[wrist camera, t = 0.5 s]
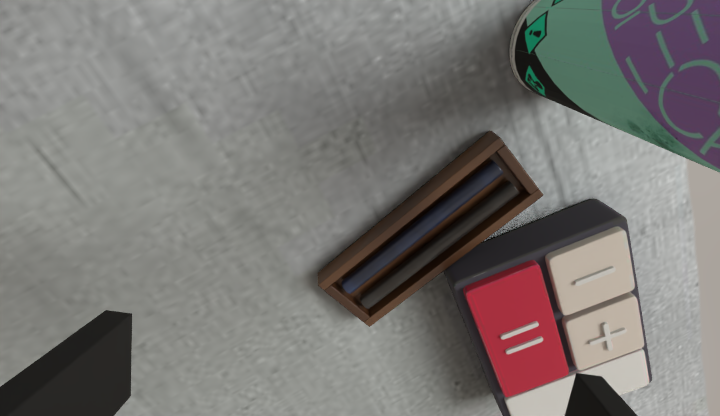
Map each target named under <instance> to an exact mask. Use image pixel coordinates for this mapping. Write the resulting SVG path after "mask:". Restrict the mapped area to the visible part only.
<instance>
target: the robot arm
mask: <svg viewBox="0 0 720 416" xmlns="http://www.w3.org/2000/svg"><path fill="white" fill-rule="evenodd" d="M131 343H132V314H130V313H123V312H115V311H108V310H106V311H104V312H103V313H102V314H100V315H99V316H97V317H96V318H95V319H93V320H92V321H91V322H89V323H88V324H86V325H85V326H84V327H82V328H81V329H79V330H78V331H77V332H75V333H74V334H73V335H71V336H70V337H68V338H67V339H66V340H64V341H63V342H62V343H60V344H59V345H57V346H56V347H55V348H53V349H52V350H51V351H49V352H48V353H46V354H45V355H44V356H42V357H41V358H40V359H38V360H37V361H35V362H34V363H33V364H31V365H30V366H29V367H27V368H26V369H24V370H23V371H22V372H20V373H19V374H18V375H16V376H15V377H13V378H12V379H11V380H9V381H8V382H7V383H5V384H4V385H2V386H1V387H0V416H114V415H115V414H116V412H117V411H118V410H119V409H120V408H121V407H122V405H123V404H124V403H125V402H126V401H127V400H128V399H129V397H130V396H131ZM565 416H637V415H636V414H635V413H634V411H633V410H632V409H631V408H630V407H629V406H628V405H627V404H626V403H625V401H624V400H623V399H622V398H621V397H620V396H619V395H618V394H617V392H616V391H615V390H614V389H613V388H612V387H611V386H610V385H609V384H608V382H607V381H606V380H605V379H604V378H603V377H602V376H596V375H588V374H581V373H576V375H575V379H574V383H573V387H572V390H571V394H570V398H569V401H568V405H567V409H566V412H565Z"/></svg>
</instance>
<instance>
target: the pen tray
mask: <svg viewBox="0 0 720 416" xmlns="http://www.w3.org/2000/svg"><path fill="white" fill-rule="evenodd" d="M542 196H543V194H542V193H541V191H540V190H539V189H538V187H537V186H536V185H535V183H534V182H533V181H532V179H531V178H530V177H529V175H528V174H527V173H526V171H525V170H524V169H523V167H522V166H521V165H520V163H519V162H518V161H517V159H516V158H515V157H514V155H513V154H512V153H511V151H510V150H509V149H508V147H507V146H506V145H505V144H504V142H503V141H502V139H501V138H500V137H499V136H497V135H496V134H495V133H493V132H492V131H489V132H488V133H486V134H485V135H484V136H483V137H482V138H480V139H479V140H478V141H477V142H476V143H474V144H473V145H472V146H471V147H470V148H468V149H467V150H466V151H465V152H463V153H462V154H461V155H460V156H459V157H457V158H456V159H455V160H454V161H453V162H451V163H450V164H449V165H448V166H446V167H445V168H444V169H443V170H442V171H440V172H439V173H438V174H437V175H436V176H434V177H433V178H432V179H431V180H430V181H428V182H427V183H426V184H425V185H423V186H422V187H421V188H420V189H419V190H417V191H416V192H415V193H414V194H413V195H411V196H410V197H409V198H408V199H407V200H405V201H404V202H403V203H402V204H400V205H399V206H398V207H397V208H396V209H394V210H393V211H392V212H391V213H390V214H388V215H387V216H386V217H385V218H384V219H382V220H381V221H380V222H379V223H377V224H376V225H375V226H374V227H373V228H371V229H370V230H369V231H368V232H367V233H365V234H364V235H363V236H362V237H361V238H359V239H358V240H357V241H356V242H354V243H353V244H352V245H351V246H350V247H348V248H347V249H346V250H345V251H344V252H342V253H341V254H340V255H339V256H338V257H336V258H335V259H334V260H333V261H331V262H330V263H329V264H328V265H327V266H325V267H324V268H323V269H322V270H321V271H319V272H318V286H319V287H320V288H322V289H323V290H324V291H325V292H327V293H328V294H329V295H330V296H332V297H333V298H334V299H335V300H337V301H338V302H339V303H340V304H342V305H343V306H344V307H345V308H347V309H348V310H349V311H350V312H352V313H353V314H354V315H355V316H357V317H358V318H359V319H360V320H362V321H363V322H364V323H365V324H367V325H368V326H369V327H370V326H371V325H372V324H374V323H375V322H376V321H378V320H379V319H380V318H382V317H383V316H384V315H386V314H387V313H388V312H390V311H391V310H392V309H394V308H395V307H396V306H398V305H399V304H400V303H402V302H403V301H404V300H406V299H407V298H408V297H410V296H411V295H412V294H413V293H415V292H416V291H417V290H419V289H420V288H421V287H423V286H424V285H425V284H427V283H428V282H429V281H431V280H432V279H433V278H435V277H436V276H437V275H439V274H440V273H441V272H443V271H444V270H445V269H447V268H448V267H449V266H451V265H452V264H453V263H455V262H456V261H457V260H459V259H460V258H461V257H462V256H464V255H465V254H466V253H468V252H469V251H470V250H472V249H473V248H474V247H476V246H477V245H478V244H480V243H481V242H482V241H484V240H485V239H486V238H488V237H489V236H490V235H492V234H493V233H494V232H496V231H497V230H498V229H500V228H501V227H502V226H504V225H505V224H506V223H508V222H509V221H510V220H511V219H513V218H514V217H515V216H517V215H518V214H519V213H521V212H522V211H523V210H525V209H526V208H527V207H529V206H530V205H531V204H533V203H534V202H535V201H537V200H538V199H539V198H541V197H542Z"/></svg>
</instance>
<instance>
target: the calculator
mask: <svg viewBox="0 0 720 416" xmlns="http://www.w3.org/2000/svg"><path fill="white" fill-rule="evenodd" d="M444 273H445V275H446V278H447V280H448V283H449V285H450V288H451V290H452V293H453V295H454V298H455V300H456V303H457V305H458V308H459V310H460V313H461V315H462V318H463V320H464V323H465V325H466V328H467V330H468V333H469V335H470V338H471V340H472V343H473V345H474V347H475V350H476V352H477V355H478V357H479V360H480V362H481V365H482V368H483V371H484V373H485V376H486V378H487V381H488V383H489V386H490V388H491V391H492V393H493V395H494V398H495V400H496V402H497V404H498V406H499V408H500V411H501V413H502V415H503V416H564V415H565V412H566V409H567V405H568V401H569V398H570V394H571V390H572V387H573V383H574V379H575V375H576V373H581V374H588V375H596V376H602V377H603V378H604V379H605V380H606V381H607V382H608V384H609V385H610V386H611V387H612V388H613V389H614V390H615V391H616V392H617V394H618V395H622V394H625V393H628V392H630V391H633V390H636V389H639V388H641V387H644V386H646V385H648V384H649V383H650V382H651V381H652V374H651V368H650V362H649V356H648V349H647V343H646V337H645V331H644V324H643V318H642V312H641V306H640V299H639V293H638V287H637V281H636V274H635V268H634V262H633V255H632V249H631V243H630V237H629V230H628V224H627V220H626V218H625V217H624V216H622V215H621V214H619V213H618V212H616V211H615V210H613V209H612V208H610V207H609V206H607V205H605V204H604V203H602V202H601V201H599V200H597V199H590V200H587V201H585V202H582V203H580V204H577V205H575V206H572V207H570V208H567V209H565V210H563V211H560V212H558V213H555V214H553V215H550V216H548V217H545V218H543V219H540V220H538V221H535V222H533V223H530V224H528V225H525V226H523V227H521V228H518V229H516V230H513V231H511V232H508V233H506V234H503V235H501V236H498V237H496V238H493V239H491V240H488V241H486V242H483V243H481V244H479V245H477V246H476V247H474V248H473V249H472V250H470V251H469V252H468V253H466V254H465V255H464V256H462V257H461V258H460V259H459V260H457V261H456V262H455V263H453V264H452V265H451V266H449V267H448V268H447V269H445V270H444Z"/></svg>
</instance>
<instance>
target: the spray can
mask: <svg viewBox="0 0 720 416" xmlns="http://www.w3.org/2000/svg"><path fill="white" fill-rule="evenodd" d="M510 63H511V68H512V70H513V72H514V75H515V77H516V78H517V79H518V81H519V82H520V83H521V84H522V85H523V86H524V87H526V88H527V89H529V90H530V91H532V92H534V93H536V94H538V95H541V96H543V97H545V98H548V99H550V100H552V101H555V102H557V103H559V104H562V105H564V106H566V107H569V108H571V109H573V110H576V111H578V112H580V113H582V114H585V115H587V116H589V117H592V118H594V119H596V120H599V121H601V122H603V123H606V124H608V125H610V126H613V127H615V128H617V129H620V130H622V131H624V132H627V133H629V134H631V135H634V136H636V137H638V138H641V139H643V140H645V141H648V142H650V143H652V144H655V145H657V146H659V147H662V148H664V149H666V150H669V151H671V152H673V153H676V154H678V155H680V156H683V157H685V158H687V159H689V160H692V161H694V162H696V163H699V164H701V165H703V166H706V167H708V168H711V169H713V170H715V171H717V172H720V0H534V1H533V2H532V3H531V4H530V5H529V6H528V7H527V8H526V10H525V11H524V12H523V14H522V15H521V16H520V18H519V20H518V22H517V24H516V26H515V28H514V31H513V34H512V37H511V42H510Z"/></svg>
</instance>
